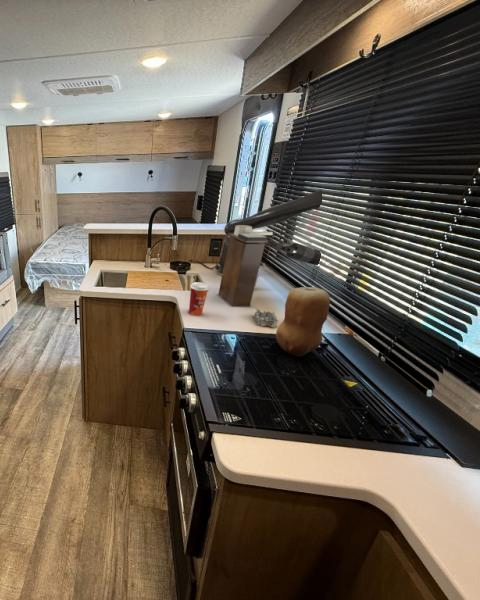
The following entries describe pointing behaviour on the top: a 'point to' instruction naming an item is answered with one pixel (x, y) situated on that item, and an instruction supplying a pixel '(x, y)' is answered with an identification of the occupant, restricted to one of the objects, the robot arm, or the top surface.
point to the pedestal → (240, 270)
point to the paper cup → (197, 298)
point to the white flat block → (248, 230)
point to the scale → (252, 237)
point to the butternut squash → (303, 320)
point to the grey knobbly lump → (265, 318)
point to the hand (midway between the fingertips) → (269, 243)
